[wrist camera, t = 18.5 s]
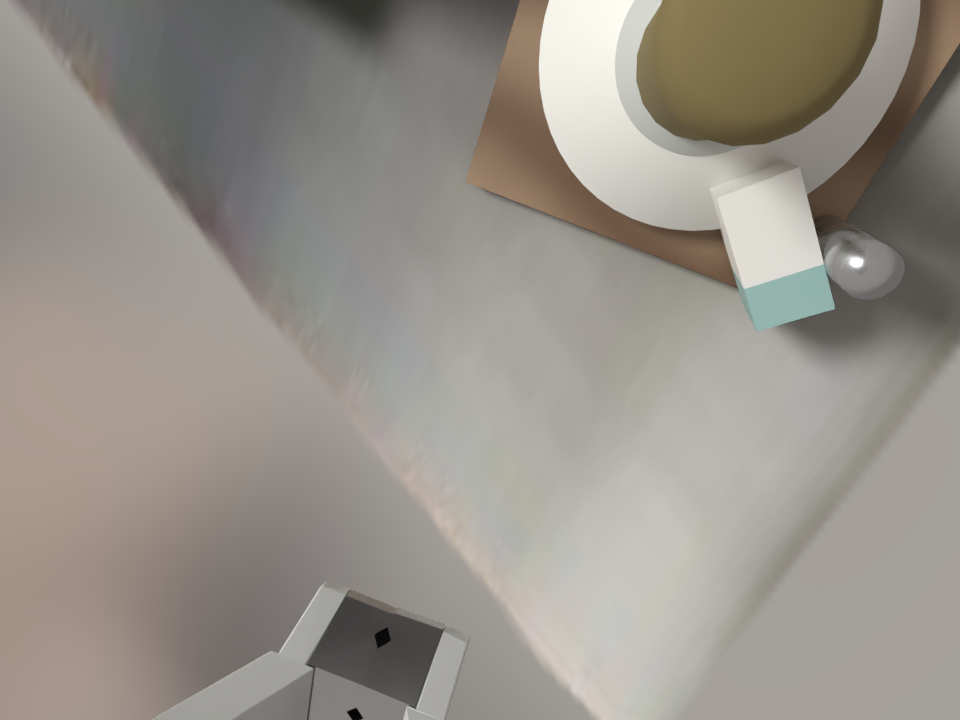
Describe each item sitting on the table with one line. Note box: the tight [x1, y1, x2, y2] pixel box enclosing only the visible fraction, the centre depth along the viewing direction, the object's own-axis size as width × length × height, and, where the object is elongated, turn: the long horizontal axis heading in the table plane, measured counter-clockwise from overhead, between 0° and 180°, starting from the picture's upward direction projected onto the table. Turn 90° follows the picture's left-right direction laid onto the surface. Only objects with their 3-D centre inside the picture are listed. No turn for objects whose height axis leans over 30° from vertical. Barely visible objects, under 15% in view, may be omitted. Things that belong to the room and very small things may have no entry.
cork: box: [636, 0, 884, 146], centre depth 18 cm, size 6×6×11 cm
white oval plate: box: [539, 0, 920, 331], centre depth 22 cm, size 18×14×4 cm
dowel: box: [813, 215, 905, 300], centre depth 23 cm, size 2×2×7 cm
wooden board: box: [466, 0, 960, 288], centre depth 24 cm, size 17×17×1 cm
